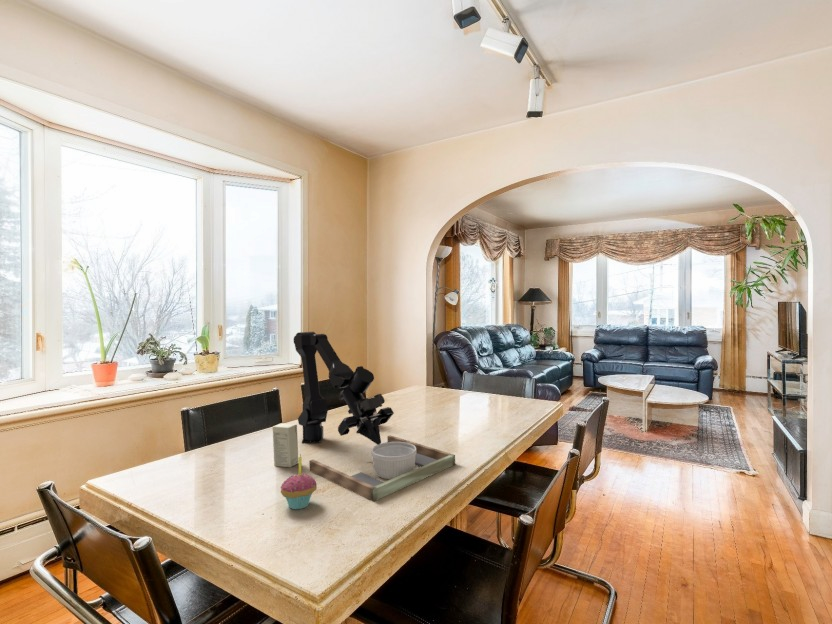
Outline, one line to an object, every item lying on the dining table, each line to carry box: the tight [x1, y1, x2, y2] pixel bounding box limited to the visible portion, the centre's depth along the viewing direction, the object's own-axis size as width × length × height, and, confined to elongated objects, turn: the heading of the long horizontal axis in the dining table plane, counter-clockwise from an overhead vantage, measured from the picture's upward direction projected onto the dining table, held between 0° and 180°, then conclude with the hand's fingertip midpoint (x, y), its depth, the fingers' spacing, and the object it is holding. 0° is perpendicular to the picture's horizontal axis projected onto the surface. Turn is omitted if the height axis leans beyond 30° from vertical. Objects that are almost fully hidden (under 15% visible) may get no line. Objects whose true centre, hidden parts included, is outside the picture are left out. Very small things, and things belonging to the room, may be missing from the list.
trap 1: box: [350, 471, 385, 486], centre depth 116 cm, size 10×6×1 cm, turn 46°
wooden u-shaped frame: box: [309, 434, 456, 502], centre depth 127 cm, size 29×32×3 cm
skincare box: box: [272, 422, 299, 468], centre depth 131 cm, size 6×4×12 cm
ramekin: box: [370, 441, 417, 480], centre depth 123 cm, size 13×13×7 cm
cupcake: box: [280, 453, 318, 510], centre depth 104 cm, size 9×8×12 cm
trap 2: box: [415, 453, 436, 468], centre depth 132 cm, size 10×6×1 cm, turn 46°
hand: (379, 443), depth 128 cm, fingers closed, pressing on ramekin
